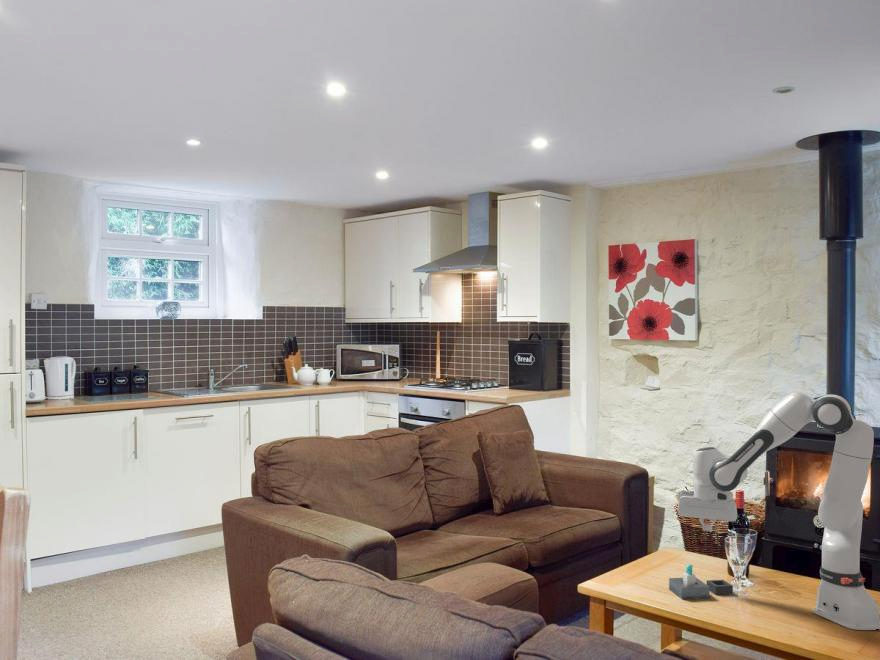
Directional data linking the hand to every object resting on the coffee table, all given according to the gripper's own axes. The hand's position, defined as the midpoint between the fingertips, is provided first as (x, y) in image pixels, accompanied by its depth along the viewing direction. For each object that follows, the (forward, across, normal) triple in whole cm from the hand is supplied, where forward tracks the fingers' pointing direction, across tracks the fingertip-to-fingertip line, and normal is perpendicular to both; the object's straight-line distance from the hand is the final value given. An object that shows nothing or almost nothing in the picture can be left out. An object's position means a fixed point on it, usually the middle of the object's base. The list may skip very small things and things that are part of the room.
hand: (707, 531), depth 271 cm
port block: (+20, -5, -10) cm, 23 cm away
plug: (+20, -5, -10) cm, 23 cm away
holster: (+20, +4, -2) cm, 21 cm away
